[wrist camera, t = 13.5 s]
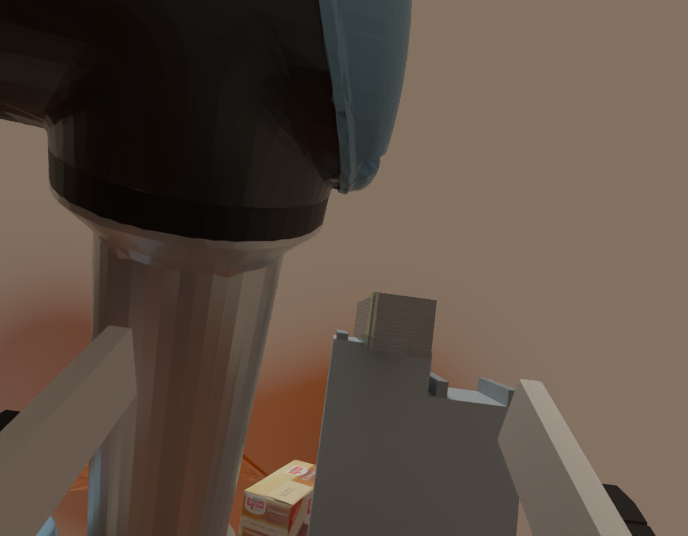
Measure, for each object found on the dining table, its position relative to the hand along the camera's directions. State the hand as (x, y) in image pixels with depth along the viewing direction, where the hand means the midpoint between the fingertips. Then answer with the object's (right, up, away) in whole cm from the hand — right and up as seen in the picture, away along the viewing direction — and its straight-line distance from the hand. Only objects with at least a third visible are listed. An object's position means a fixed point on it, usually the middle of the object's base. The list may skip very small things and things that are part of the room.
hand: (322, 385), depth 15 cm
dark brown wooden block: (+4, -3, +26) cm, 27 cm away
